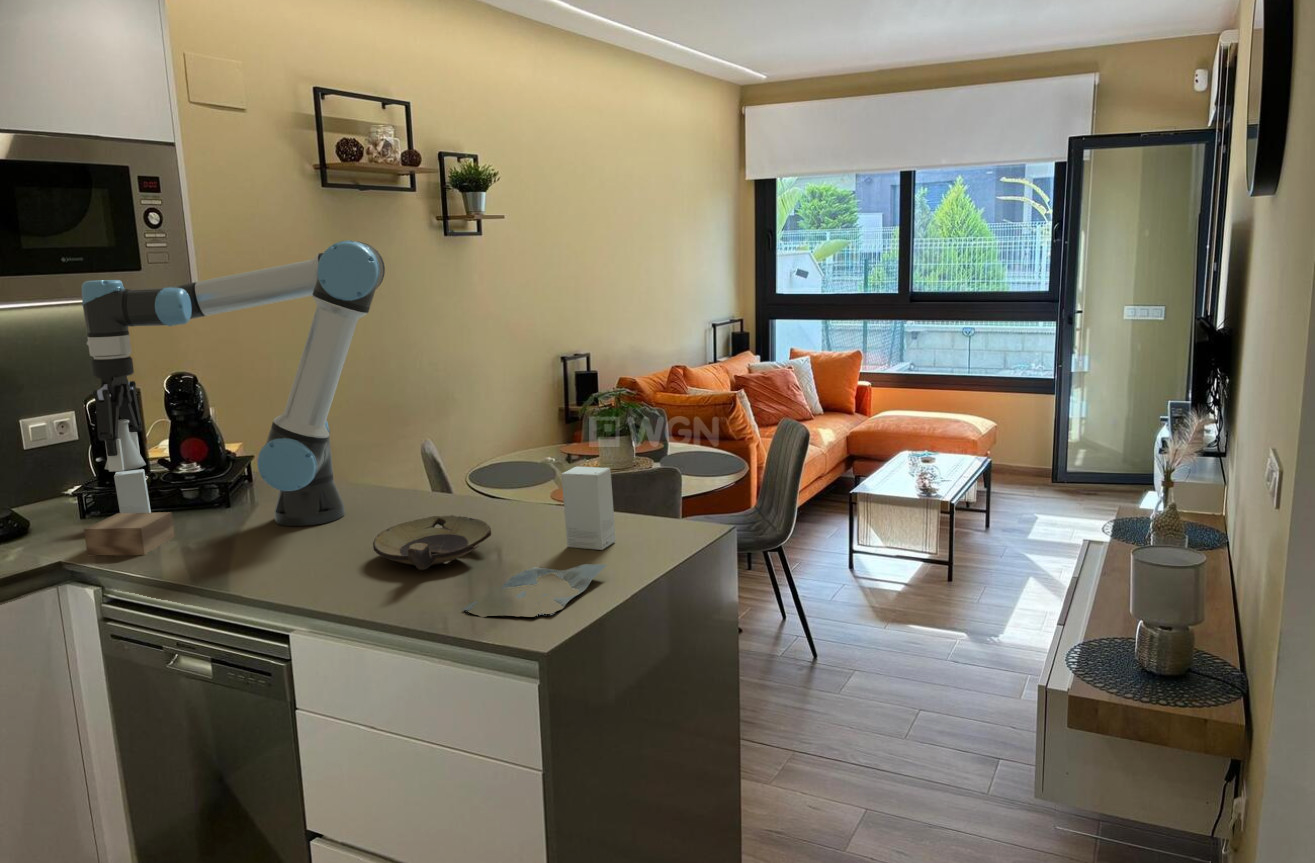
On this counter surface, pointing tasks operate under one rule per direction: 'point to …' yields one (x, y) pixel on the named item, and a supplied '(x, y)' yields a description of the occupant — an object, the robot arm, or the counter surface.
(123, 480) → the skincare box
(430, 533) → the oil lamp
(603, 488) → the skincare box
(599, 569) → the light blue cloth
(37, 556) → the counter surface
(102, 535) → the walnut block
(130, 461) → the flask
